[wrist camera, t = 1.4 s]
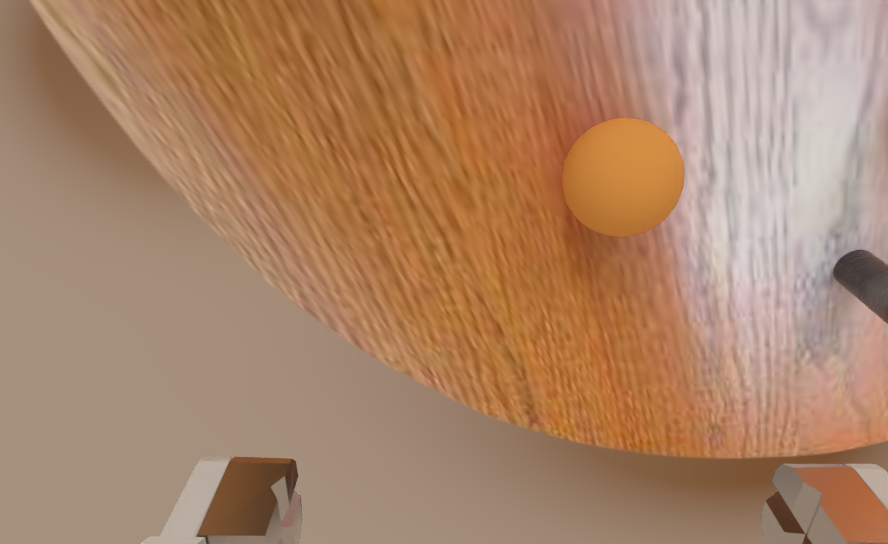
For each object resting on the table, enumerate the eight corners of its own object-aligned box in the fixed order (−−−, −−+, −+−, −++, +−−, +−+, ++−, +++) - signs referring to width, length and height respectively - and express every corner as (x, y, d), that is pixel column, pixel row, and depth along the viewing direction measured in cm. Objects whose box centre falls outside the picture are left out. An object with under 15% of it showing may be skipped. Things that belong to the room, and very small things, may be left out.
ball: (559, 104, 32) (581, 134, 27) (672, 106, 32) (716, 137, 27) (548, 209, 35) (566, 255, 29) (651, 211, 35) (688, 257, 29)
